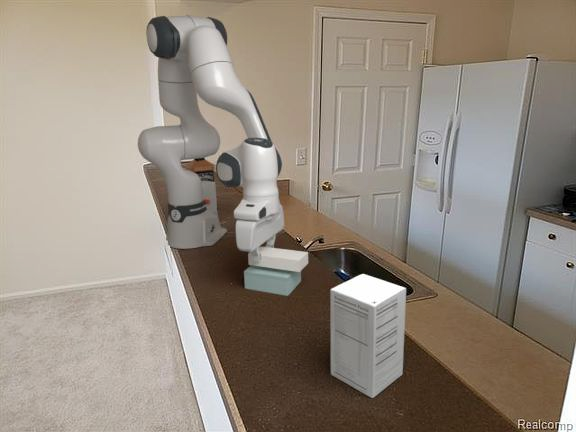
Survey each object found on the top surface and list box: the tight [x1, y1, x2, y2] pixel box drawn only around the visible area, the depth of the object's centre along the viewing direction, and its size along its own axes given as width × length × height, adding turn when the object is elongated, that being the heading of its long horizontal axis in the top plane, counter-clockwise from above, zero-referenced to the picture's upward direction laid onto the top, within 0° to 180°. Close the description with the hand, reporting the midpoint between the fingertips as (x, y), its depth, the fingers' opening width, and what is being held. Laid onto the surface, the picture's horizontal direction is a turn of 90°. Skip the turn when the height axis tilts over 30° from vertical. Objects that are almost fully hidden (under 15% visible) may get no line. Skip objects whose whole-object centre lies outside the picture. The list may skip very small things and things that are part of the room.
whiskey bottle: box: [185, 157, 219, 209], centre depth 181 cm, size 10×10×32 cm
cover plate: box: [247, 245, 309, 272], centre depth 109 cm, size 6×14×3 cm, turn 67°
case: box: [243, 265, 302, 297], centre depth 112 cm, size 9×12×5 cm
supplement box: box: [329, 273, 407, 399], centre depth 74 cm, size 10×9×17 cm
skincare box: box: [201, 181, 219, 218], centre depth 166 cm, size 8×7×16 cm
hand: (263, 256), depth 111 cm, fingers closed on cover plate, 6 cm apart
